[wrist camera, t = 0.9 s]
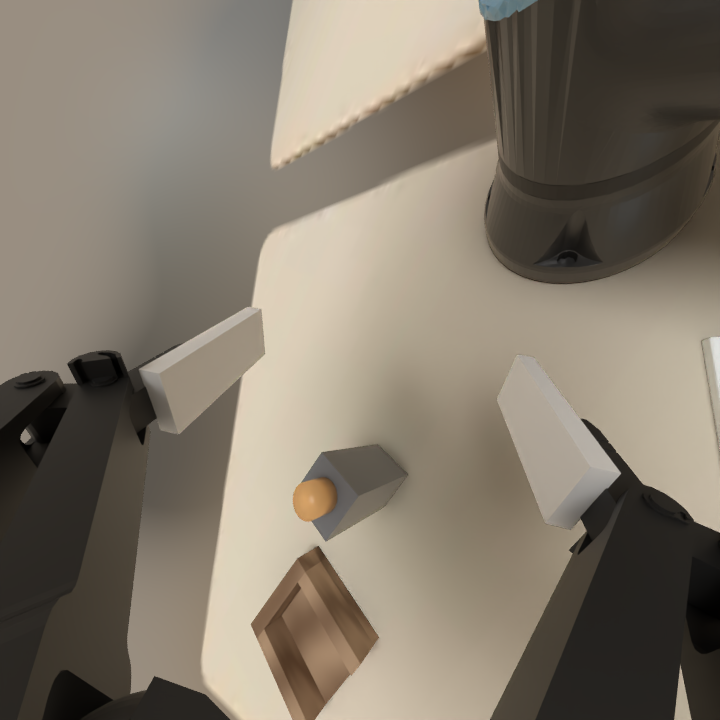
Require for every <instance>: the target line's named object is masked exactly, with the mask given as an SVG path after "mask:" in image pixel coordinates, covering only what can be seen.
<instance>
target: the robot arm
mask: <svg viewBox="0 0 720 720" xmlns="http://www.w3.org/2000/svg"><path fill="white" fill-rule="evenodd" d="M479 9H480V13H481V15H482V16H483V17H484V24H485V33H486V43H487V52H488V61H489V70H490V80H491V88H492V98H493V108H494V117H495V126H496V136H497V144H498V155H499V160H498V164H497V168H496V174H495V178H494V181H493V183H492V185H491V187H490V190H489V193H488V196H487V200H486V204H485V214H484V220H485V228H486V233H487V238H488V242H489V245H490V247H491V249H492V251H493V253H494V254H495V256H496V257H497V258H498V260H499V261H500V262H501V263H502V264H503V265H505V266H506V267H507V268H509V269H510V270H512V271H513V272H515V273H517V274H519V275H521V276H524V277H526V278H529V279H533V280H537V281H542V282H549V283H577V282H585V281H591V280H596V279H600V278H604V277H607V276H610V275H613V274H616V273H619V272H622V271H624V270H626V269H629V268H631V267H633V266H635V265H637V264H639V263H641V262H642V261H644V260H646V259H648V258H649V257H651V256H652V255H654V254H655V253H657V252H658V251H659V250H661V249H662V248H663V247H664V246H666V245H667V244H668V243H669V242H670V241H671V240H672V239H673V238H674V237H675V236H676V235H677V234H678V233H679V232H680V231H681V230H682V228H683V227H684V226H685V225H686V223H687V222H688V221H689V220H690V218H691V217H692V216H693V215H694V213H695V212H696V211H697V209H698V208H699V207H700V205H701V203H702V202H703V200H704V198H705V197H706V195H707V193H708V191H709V189H710V186H711V183H712V181H713V177H714V173H715V167H716V148H717V143H718V138H719V133H720V0H479ZM264 354H265V347H264V335H263V323H262V311H261V309H258V308H252V307H247V308H245V309H244V310H242V311H240V312H238V313H236V314H235V315H233V316H231V317H229V318H228V319H226V320H224V321H222V322H221V323H219V324H217V325H215V326H213V327H212V328H210V329H208V330H207V331H205V332H203V333H201V334H199V335H198V336H196V337H194V338H192V339H191V340H189V341H187V342H185V343H182V344H179V345H176V346H173V347H172V348H170V349H168V350H166V351H165V352H164V353H161V354H159V355H157V356H156V358H152V359H150V360H148V361H147V362H145V363H143V364H142V365H139V366H138V367H136V368H134V369H132V370H130V371H129V372H127V369H126V367H125V364H124V362H123V359H122V356H121V354H120V353H118V352H116V351H96V352H90V353H87V354H84V355H81V356H78V357H76V358H74V359H72V360H71V361H70V362H69V363H68V366H69V368H70V370H71V372H72V374H73V376H74V378H75V380H76V382H77V384H63V382H62V380H61V379H60V376H59V375H58V373H56V372H53V371H38V372H36V371H35V372H29V373H25V374H21V375H20V376H18V377H15V378H12V379H10V380H8V381H6V382H5V383H3V384H2V385H0V720H230V719H229V718H228V717H227V716H226V715H225V714H224V713H223V712H222V711H221V710H220V709H219V708H218V707H217V706H216V705H215V704H214V703H213V702H212V701H211V700H210V699H209V698H208V697H207V696H206V695H205V694H202V693H200V692H197V691H194V690H191V689H188V688H186V687H183V686H180V685H178V684H175V683H172V682H169V681H166V680H163V679H161V678H158V677H155V676H154V678H153V680H152V682H151V683H150V685H149V687H148V689H147V690H145V691H140V692H137V693H132V694H130V690H131V664H130V659H129V654H128V649H127V633H128V624H129V616H130V607H131V598H132V589H133V580H134V572H135V563H136V555H137V546H138V537H139V528H140V519H141V511H142V502H143V494H144V485H145V475H146V467H147V459H148V450H149V441H150V428H149V426H148V424H149V423H151V422H152V421H153V420H155V419H157V422H158V424H159V427H160V430H162V431H166V432H171V433H175V434H180V433H181V432H182V431H183V430H184V429H185V428H186V427H187V426H188V425H189V424H190V423H191V422H193V421H194V420H195V419H196V418H197V417H198V416H199V415H200V414H201V413H202V412H203V411H204V410H205V409H206V408H208V407H209V406H210V405H211V404H212V403H213V402H214V401H215V400H216V399H217V398H218V397H219V396H220V395H221V394H222V393H224V392H225V391H226V390H227V389H228V388H229V387H230V386H231V385H232V384H233V383H234V382H235V381H236V380H237V379H238V378H240V377H241V376H242V375H243V374H244V373H245V372H246V371H247V370H248V369H249V368H250V367H252V366H253V365H254V364H255V363H256V362H257V361H258V360H259V359H260V358H261V357H262V356H263V355H264ZM497 402H498V404H499V407H500V409H501V412H502V414H503V417H504V420H505V422H506V425H507V427H508V430H509V432H510V435H511V437H512V440H513V443H514V445H515V448H516V450H517V453H518V455H519V458H520V460H521V463H522V466H523V468H524V471H525V473H526V476H527V478H528V481H529V484H530V486H531V489H532V491H533V494H534V496H535V499H536V501H537V504H538V507H539V509H540V512H541V514H542V517H543V519H544V522H545V524H549V525H553V526H557V527H561V528H565V529H570V530H571V529H572V528H573V526H574V525H575V524H576V523H577V522H578V521H579V520H580V519H581V520H582V522H583V524H584V526H585V528H586V530H587V532H586V533H585V534H584V535H583V536H582V537H581V538H580V539H579V540H578V541H577V542H576V543H575V544H574V545H573V546H572V547H571V548H570V549H569V551H570V552H572V553H573V555H572V557H571V559H570V561H569V563H568V565H567V567H566V569H565V571H564V573H563V575H562V577H561V579H560V581H559V583H558V585H557V587H556V589H555V591H554V593H553V595H552V597H551V599H550V601H549V603H548V605H547V607H546V609H545V611H544V613H543V615H542V617H541V619H540V621H539V623H538V625H537V627H536V629H535V631H534V633H533V635H532V637H531V639H530V641H529V643H528V645H527V647H526V649H525V651H524V653H523V655H522V657H521V659H520V661H519V663H518V665H517V667H516V669H515V671H514V673H513V675H512V677H511V679H510V681H509V683H508V685H507V687H506V689H505V691H504V693H503V695H502V697H501V699H500V701H499V703H498V705H497V707H496V709H495V711H494V713H493V715H492V717H491V719H490V720H674V715H675V706H676V697H677V688H678V679H679V670H680V664H681V669H682V674H683V679H684V684H685V689H686V694H687V699H688V704H689V709H690V714H691V718H692V720H720V533H719V532H717V531H714V530H712V529H710V528H707V527H705V526H703V525H701V524H698V523H696V522H694V520H693V518H692V517H691V516H690V514H689V513H688V512H687V511H686V510H685V509H684V508H683V507H682V506H681V505H680V504H679V503H677V502H676V501H675V500H673V499H672V498H670V497H669V496H667V495H666V494H664V493H663V492H661V491H658V490H656V489H654V488H652V487H649V486H646V485H643V484H642V483H641V481H640V480H639V479H638V478H637V476H636V475H635V474H634V473H633V471H632V470H631V469H630V468H629V466H628V465H627V464H626V463H625V461H624V460H623V459H622V458H621V456H620V455H619V454H618V453H616V450H615V449H614V448H613V446H612V445H611V444H609V443H608V442H609V441H608V440H607V439H606V438H605V436H604V435H603V434H602V433H601V431H600V430H599V429H597V428H596V427H595V426H594V425H592V424H591V423H590V422H589V421H587V420H585V419H580V418H579V417H578V415H577V414H576V413H575V411H574V410H573V409H572V407H571V406H570V405H569V403H568V402H567V401H566V399H565V398H564V397H563V395H562V394H561V393H560V391H559V390H558V389H557V387H556V386H555V385H554V383H553V382H552V381H551V379H550V378H549V377H548V375H547V374H546V373H545V371H544V370H543V369H542V367H541V366H540V365H539V363H538V362H537V361H536V359H535V358H534V357H531V356H525V355H520V354H517V355H516V357H515V360H514V362H513V364H512V366H511V369H510V371H509V373H508V375H507V377H506V380H505V382H504V384H503V386H502V388H501V391H500V393H499V395H498V397H497ZM24 429H26V430H27V431H28V433H29V434H30V436H31V439H29V441H28V442H27V443H25V444H24V443H23V442H22V441H21V440H20V436H21V434H22V432H23V431H24Z"/></svg>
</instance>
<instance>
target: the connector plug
mask: <svg viewBox="0 0 720 720" xmlns="http://www.w3.org/2000/svg"><path fill="white" fill-rule="evenodd" d="M407 475H408V474H407V473H406V472H405V471H404V470H403V469H402V468H401V467H400V466H399V465H398V464H397V463H396V462H395V461H394V460H393V459H392V458H391V457H390V456H389V455H388V454H387V453H386V452H385V451H384V450H383V449H382V448H381V447H380V446H379V445H378V444H377V445H370V446H363V447H356V448H349V449H342V450H334V451H327V452H322V453H321V454H320V456H319V457H318V459H317V460H316V462H315V463H314V465H313V466H312V467H311V469H310V470H309V472H308V473H307V475H306V476H305V478H304V479H303V481H302V482H301V483H300V484H299V485H298V486H297V487H296V489H295V491H294V494H293V505H294V509H295V512H296V514H297V515H298V517H299V518H300V519H302V520H303V521H312V522H313V524H314V525H315V527H316V528H317V530H318V531H319V533H320V534H321V536H322V537H323V538H324V540H325V541H328V540H329V539H331V538H333V537H334V536H336V535H338V534H340V533H341V532H343V531H345V530H346V529H348V528H350V527H351V526H353V525H355V524H356V523H358V522H360V521H361V520H363V519H365V518H367V517H368V516H370V515H372V514H373V513H375V512H377V511H378V510H380V509H382V508H383V507H384V506H385V505H386V504H387V502H388V501H389V500H390V498H391V497H392V496H393V494H394V493H395V491H396V490H397V489H398V487H399V486H400V485H401V483H402V482H403V481H404V479H405V478H406V477H407Z"/></svg>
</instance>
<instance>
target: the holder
mask: <svg viewBox="0 0 720 720" xmlns="http://www.w3.org/2000/svg"><path fill="white" fill-rule="evenodd" d="M251 626H252V628H253V631H254V633H255V635H256V637H257V640H258V642H259V644H260V647H261V649H262V651H263V653H264V656H265V658H266V660H267V662H268V665H269V667H270V669H271V672H272V674H273V676H274V678H275V681H276V683H277V685H278V688H279V690H280V692H281V694H282V697H283V699H284V701H285V703H286V706H287V708H288V710H289V713H290V715H291V717H292V719H293V720H315V719H316V717H317V716H318V714H319V713H320V711H321V710H322V709H323V707H324V706H325V704H326V703H327V702H328V701H329V699H330V698H331V697H332V696H333V694H334V693H335V692H336V691H337V690H338V688H339V687H340V686H341V685H342V683H343V682H344V681H345V680H346V678H347V677H348V676H349V675H352V674H353V673H354V672H355V670H356V669H357V668H358V667H359V665H360V664H361V663H362V661H363V660H364V658H365V657H366V655H367V654H368V653H369V651H370V650H371V648H372V647H373V645H374V644H375V642H376V641H377V639H378V638H379V637H378V636H377V634H376V633H375V631H374V630H373V628H372V627H371V625H370V624H369V622H368V620H367V619H366V617H365V616H364V614H363V613H362V611H361V610H360V608H359V607H358V605H357V604H356V602H355V601H354V599H353V598H352V596H351V595H350V593H349V592H348V590H347V589H346V587H345V586H344V584H343V583H342V581H341V580H340V578H339V577H338V575H337V574H336V572H335V571H334V569H333V568H332V566H331V564H330V563H329V561H328V560H327V558H326V557H325V555H324V554H323V552H322V551H321V549H320V548H319V546H318V547H316V548H314V549H313V550H311V551H309V552H308V553H306V554H304V555H303V556H301V557H299V558H298V559H297V560H296V561H295V563H294V564H293V565H292V567H291V568H290V570H289V571H288V573H287V574H286V575H285V577H284V578H283V580H282V581H281V582H280V584H279V585H278V587H277V588H276V589H275V591H274V592H273V594H272V595H271V596H270V598H269V599H268V601H267V602H266V604H265V605H264V606H263V608H262V609H261V611H260V612H259V613H258V615H257V616H256V618H255V619H254V620H253V622H252V623H251Z"/></svg>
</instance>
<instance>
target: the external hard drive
mask: <svg viewBox="0 0 720 720" xmlns="http://www.w3.org/2000/svg"><path fill="white" fill-rule="evenodd" d="M702 347H703V353H704V359H705V366H706V372H707V377H708V383H709V389H710V395H711V402H712V407H713V414H714V420H715V427H716V432H717V439H718V444H719V450H720V336H718V337H710V338H707V339H705V340H703V341H702Z"/></svg>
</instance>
